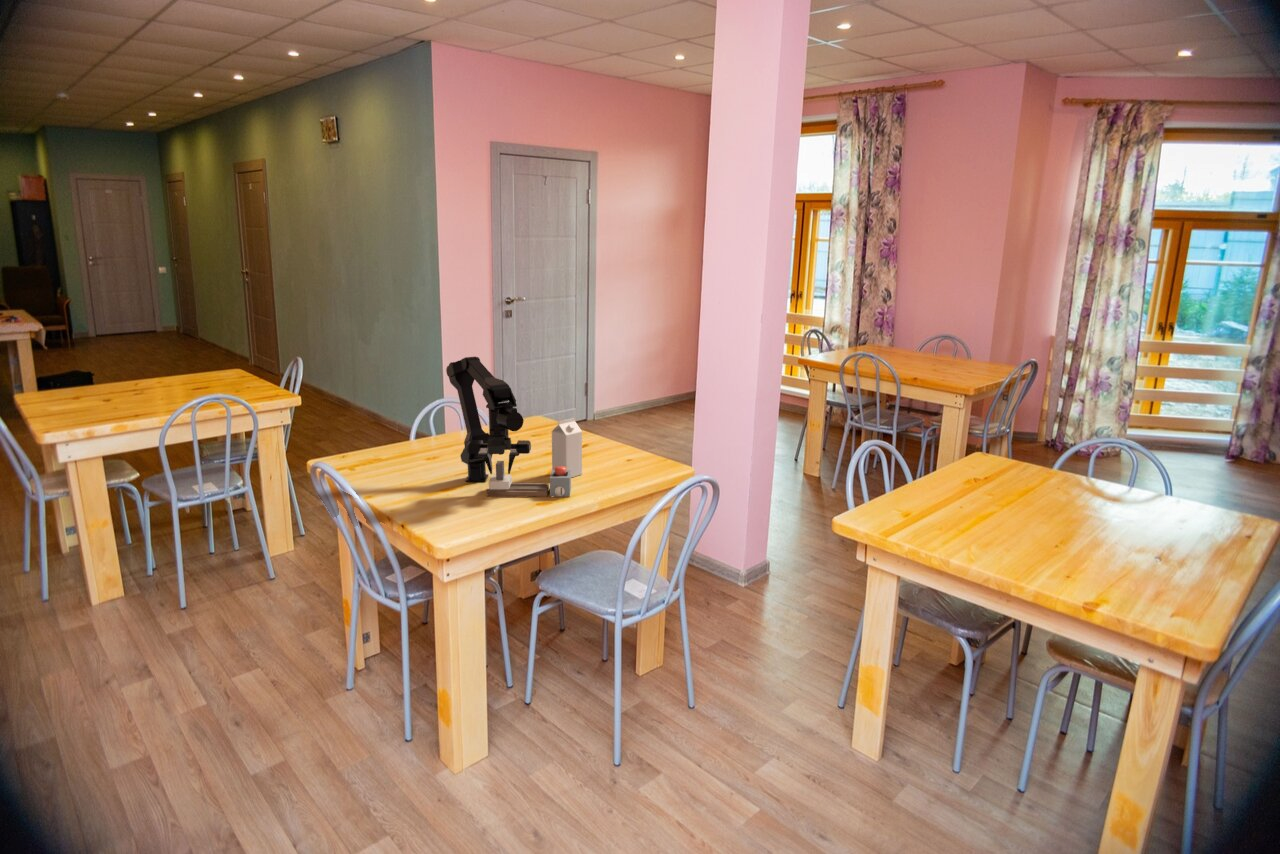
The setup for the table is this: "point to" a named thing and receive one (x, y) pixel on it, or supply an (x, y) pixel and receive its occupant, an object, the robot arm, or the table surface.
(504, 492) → the rail
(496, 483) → the carriage
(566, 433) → the milk carton
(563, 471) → the button
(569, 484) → the end cabinet
